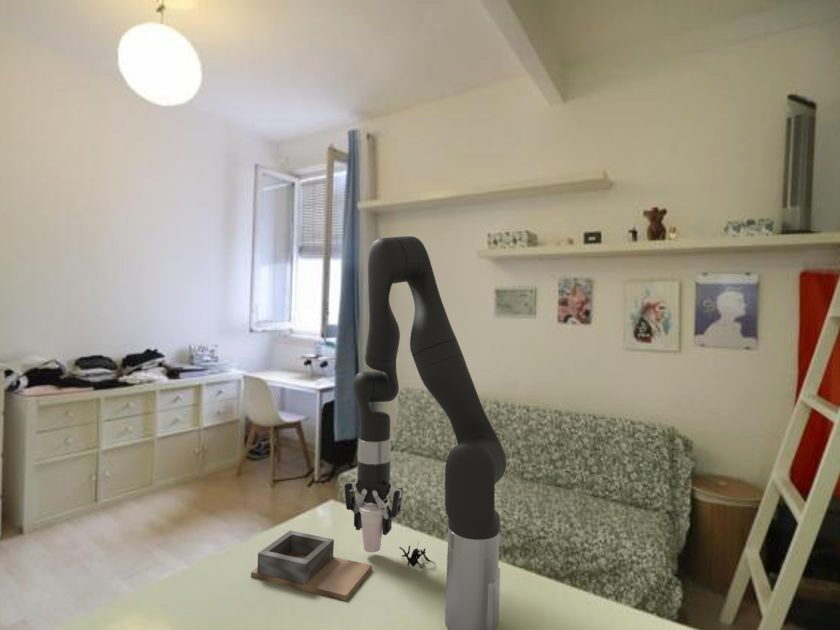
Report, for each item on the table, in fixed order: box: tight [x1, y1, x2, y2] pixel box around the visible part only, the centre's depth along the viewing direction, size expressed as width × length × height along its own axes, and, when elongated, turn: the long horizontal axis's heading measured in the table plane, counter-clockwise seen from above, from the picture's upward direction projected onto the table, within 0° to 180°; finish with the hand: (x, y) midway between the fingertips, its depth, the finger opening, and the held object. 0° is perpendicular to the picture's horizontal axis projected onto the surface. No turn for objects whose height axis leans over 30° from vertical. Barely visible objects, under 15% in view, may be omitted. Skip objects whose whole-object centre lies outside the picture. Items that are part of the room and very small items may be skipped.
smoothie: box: [359, 503, 387, 553], centre depth 106 cm, size 6×6×14 cm
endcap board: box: [250, 530, 373, 602], centre depth 98 cm, size 22×12×5 cm, turn 72°
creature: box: [398, 541, 435, 569], centre depth 104 cm, size 8×5×8 cm
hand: (372, 530), depth 106 cm, fingers closed on smoothie, 6 cm apart
